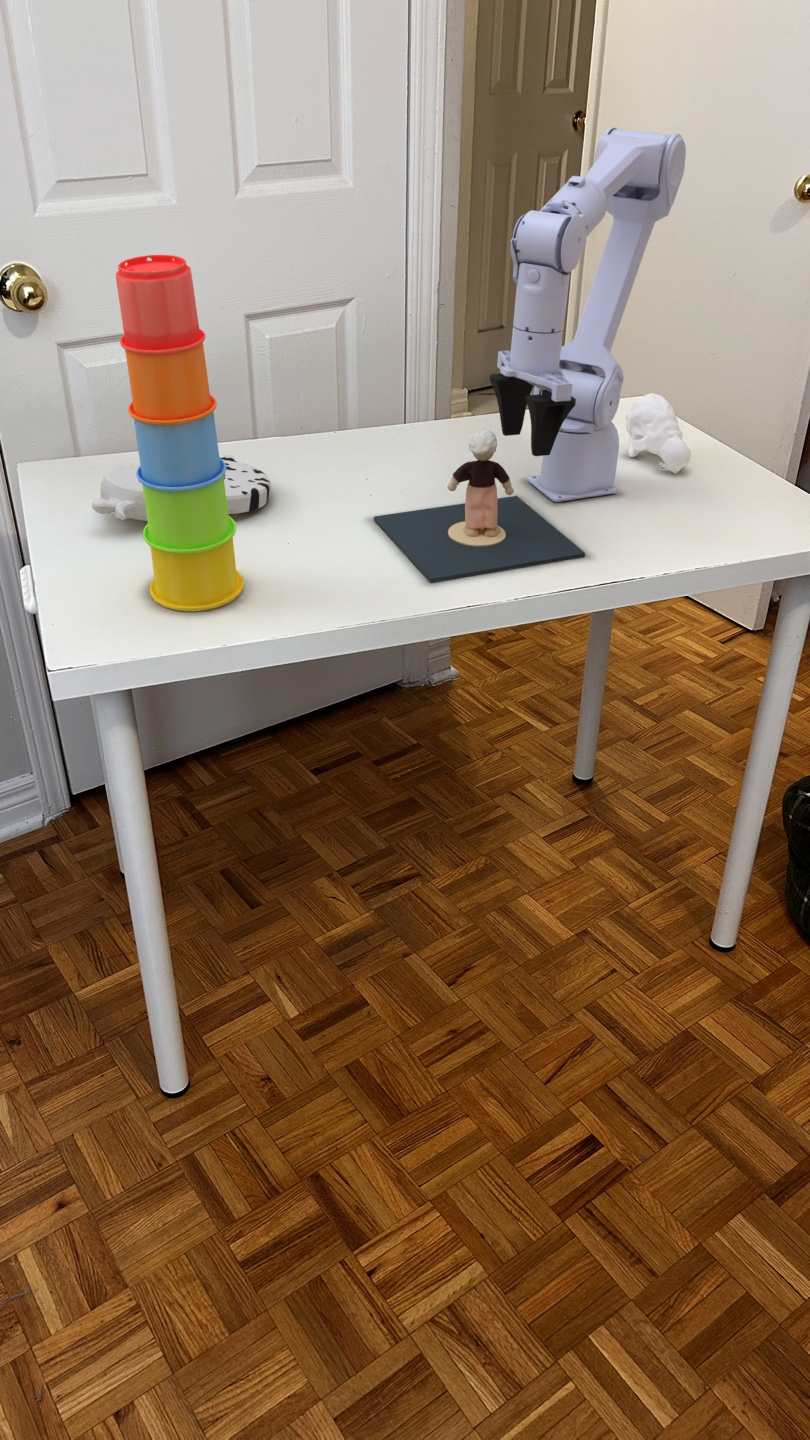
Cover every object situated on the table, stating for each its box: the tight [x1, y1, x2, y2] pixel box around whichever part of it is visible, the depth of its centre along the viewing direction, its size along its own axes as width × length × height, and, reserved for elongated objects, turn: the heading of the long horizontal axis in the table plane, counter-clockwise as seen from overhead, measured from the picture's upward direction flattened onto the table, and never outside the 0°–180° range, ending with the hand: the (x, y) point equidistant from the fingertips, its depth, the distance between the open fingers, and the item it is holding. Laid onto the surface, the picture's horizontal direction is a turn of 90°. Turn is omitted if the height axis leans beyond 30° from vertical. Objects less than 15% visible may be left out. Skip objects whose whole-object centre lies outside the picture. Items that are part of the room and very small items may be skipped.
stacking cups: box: [115, 254, 245, 612], centre depth 114 cm, size 10×10×35 cm
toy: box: [91, 454, 272, 522], centre depth 142 cm, size 22×5×20 cm
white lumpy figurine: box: [625, 392, 692, 474], centre depth 157 cm, size 6×8×12 cm
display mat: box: [373, 495, 586, 583], centre depth 137 cm, size 20×18×1 cm
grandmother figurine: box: [447, 429, 515, 537], centre depth 133 cm, size 8×4×13 cm, turn 99°
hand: (525, 444), depth 135 cm, fingers open, 7 cm apart
